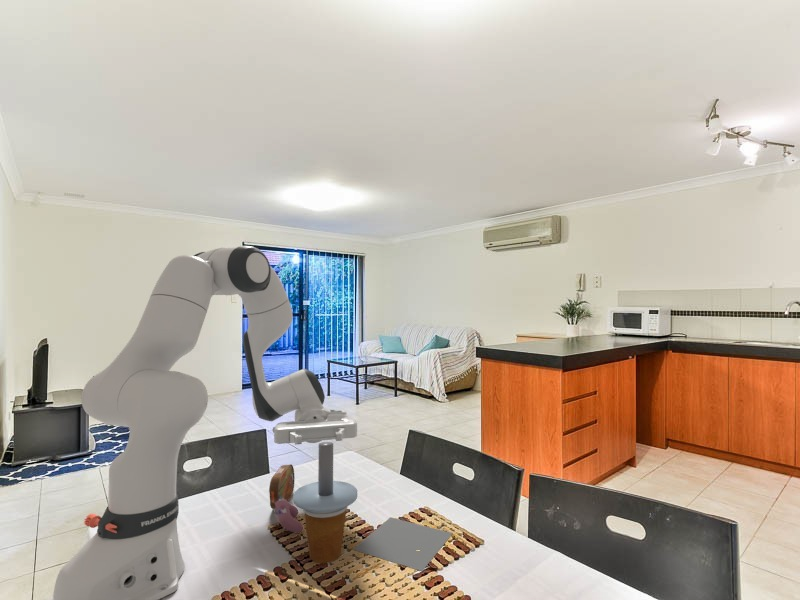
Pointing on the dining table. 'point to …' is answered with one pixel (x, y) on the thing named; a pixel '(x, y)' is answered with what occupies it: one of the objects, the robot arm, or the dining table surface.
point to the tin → (282, 484)
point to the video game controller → (288, 516)
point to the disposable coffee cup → (325, 534)
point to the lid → (325, 487)
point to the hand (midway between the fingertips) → (319, 439)
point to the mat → (404, 543)
